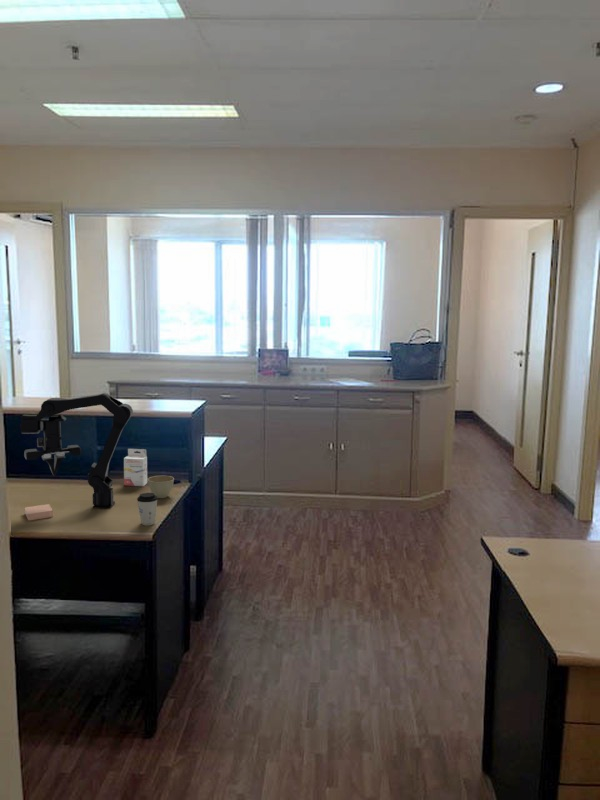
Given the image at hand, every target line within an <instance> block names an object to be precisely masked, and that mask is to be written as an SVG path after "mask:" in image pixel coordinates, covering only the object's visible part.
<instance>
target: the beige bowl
mask: <svg viewBox="0 0 600 800" xmlns="http://www.w3.org/2000/svg"><path fill="white" fill-rule="evenodd" d="M174 481H175V478H174V477H173V476H171V475H154V476H150V477H147V484H148V488H149V490H150V493H154V494H155V495H156V496H157V497H158V499H165V498H168V496H169V495H170V493H171V491H172V489H173V486H174Z"/></svg>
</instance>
